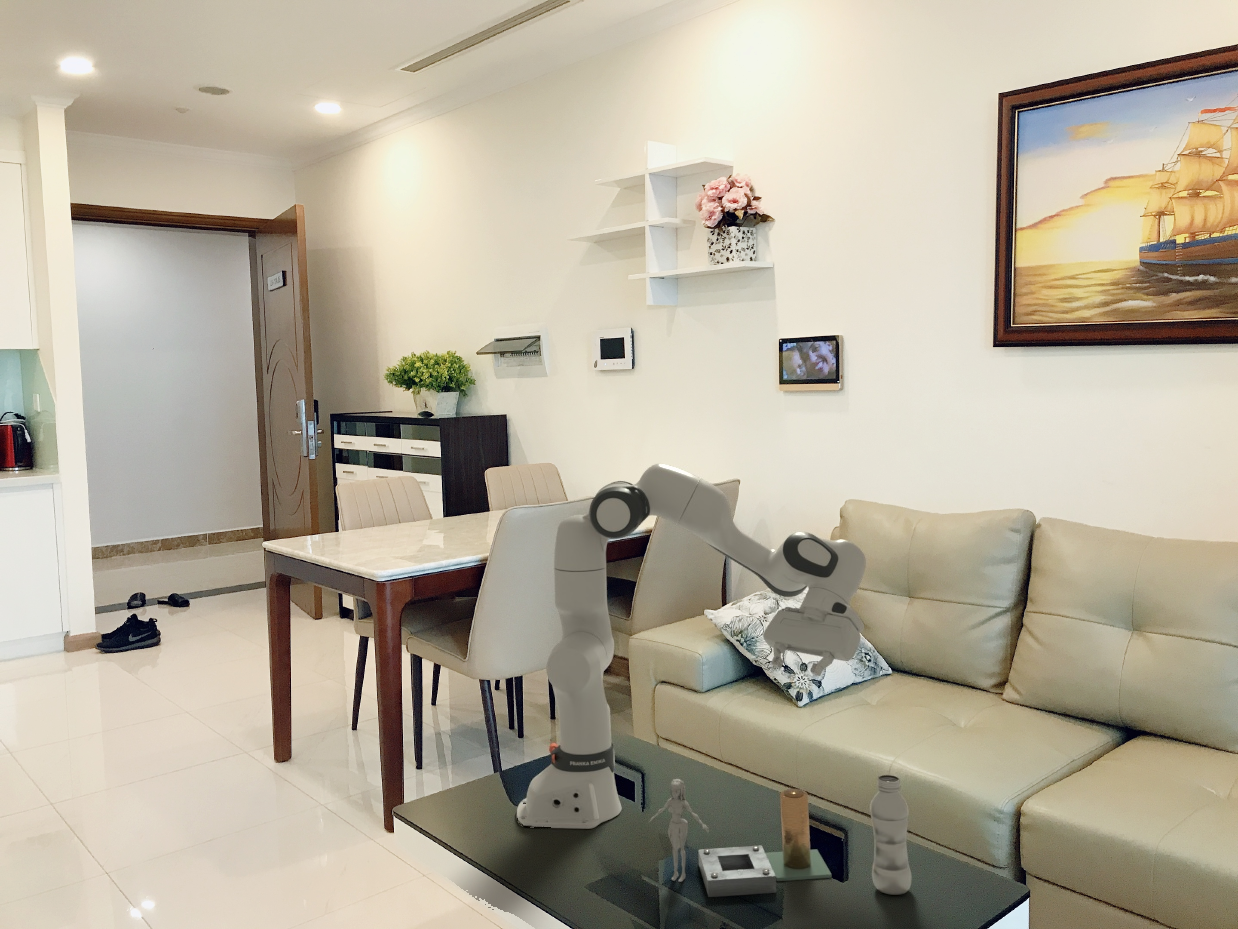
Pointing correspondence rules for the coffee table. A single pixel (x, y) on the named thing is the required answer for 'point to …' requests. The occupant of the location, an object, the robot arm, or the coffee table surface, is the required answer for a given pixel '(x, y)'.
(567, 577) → the robot arm
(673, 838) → the human figurine
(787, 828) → the copper plug
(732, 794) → the coffee table surface
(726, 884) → the housing
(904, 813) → the plastic bottle
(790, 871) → the mat
